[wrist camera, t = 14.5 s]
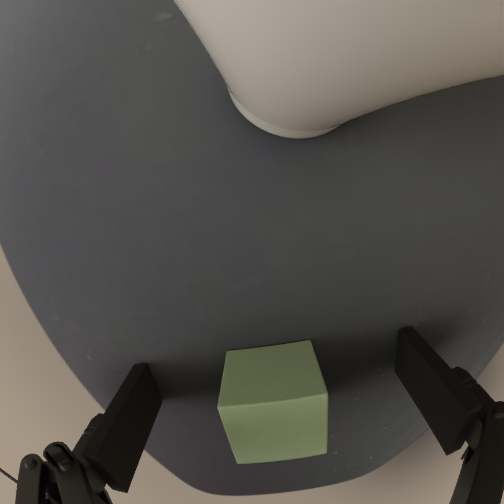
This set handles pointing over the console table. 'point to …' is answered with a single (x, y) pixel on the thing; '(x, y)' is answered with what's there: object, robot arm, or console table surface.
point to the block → (274, 403)
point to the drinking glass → (343, 54)
